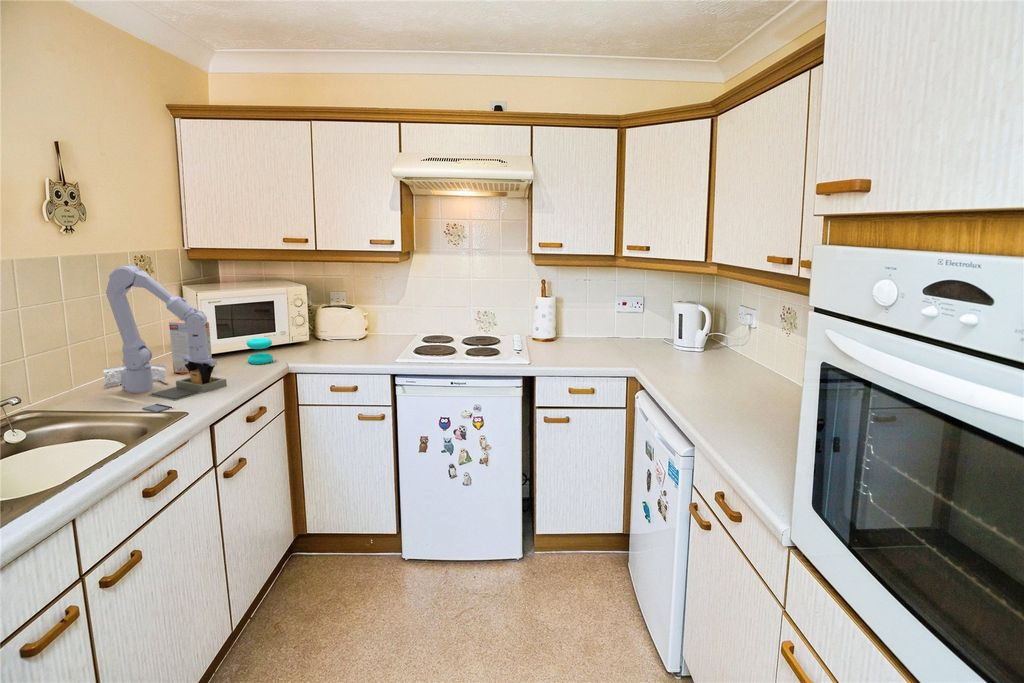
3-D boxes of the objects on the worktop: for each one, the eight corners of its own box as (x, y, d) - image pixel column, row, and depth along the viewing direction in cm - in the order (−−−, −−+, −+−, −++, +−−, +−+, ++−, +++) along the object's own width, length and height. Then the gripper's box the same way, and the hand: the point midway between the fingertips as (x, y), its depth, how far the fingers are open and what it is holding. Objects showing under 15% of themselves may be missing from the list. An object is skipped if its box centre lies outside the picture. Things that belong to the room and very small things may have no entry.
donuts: (252, 342, 239) (242, 339, 245) (253, 366, 241) (244, 362, 247) (275, 339, 246) (265, 336, 252) (277, 362, 248) (267, 358, 254)
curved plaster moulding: (169, 387, 208) (166, 364, 207) (102, 395, 198) (99, 372, 197) (169, 381, 218) (166, 360, 216) (105, 389, 208) (102, 367, 206)
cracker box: (214, 373, 228) (209, 321, 224) (202, 376, 222) (197, 323, 218) (185, 370, 232) (180, 319, 228) (173, 373, 226) (168, 321, 222)
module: (191, 387, 204) (189, 369, 203) (204, 384, 209) (202, 366, 208) (199, 389, 203) (197, 371, 201) (212, 385, 207) (210, 368, 206)
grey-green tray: (148, 398, 195) (147, 388, 194) (201, 383, 213) (200, 374, 212) (175, 403, 190) (174, 393, 189) (227, 388, 208) (226, 379, 207)
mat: (142, 409, 183) (142, 407, 183) (166, 402, 190) (165, 401, 190) (157, 412, 181) (157, 411, 180) (180, 405, 188) (180, 404, 188)
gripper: (222, 346, 204) (225, 382, 206) (193, 341, 209) (197, 377, 212) (205, 349, 197) (208, 387, 200) (176, 345, 203) (179, 382, 206)
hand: (201, 383), depth 206 cm, fingers closed on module, 4 cm apart
